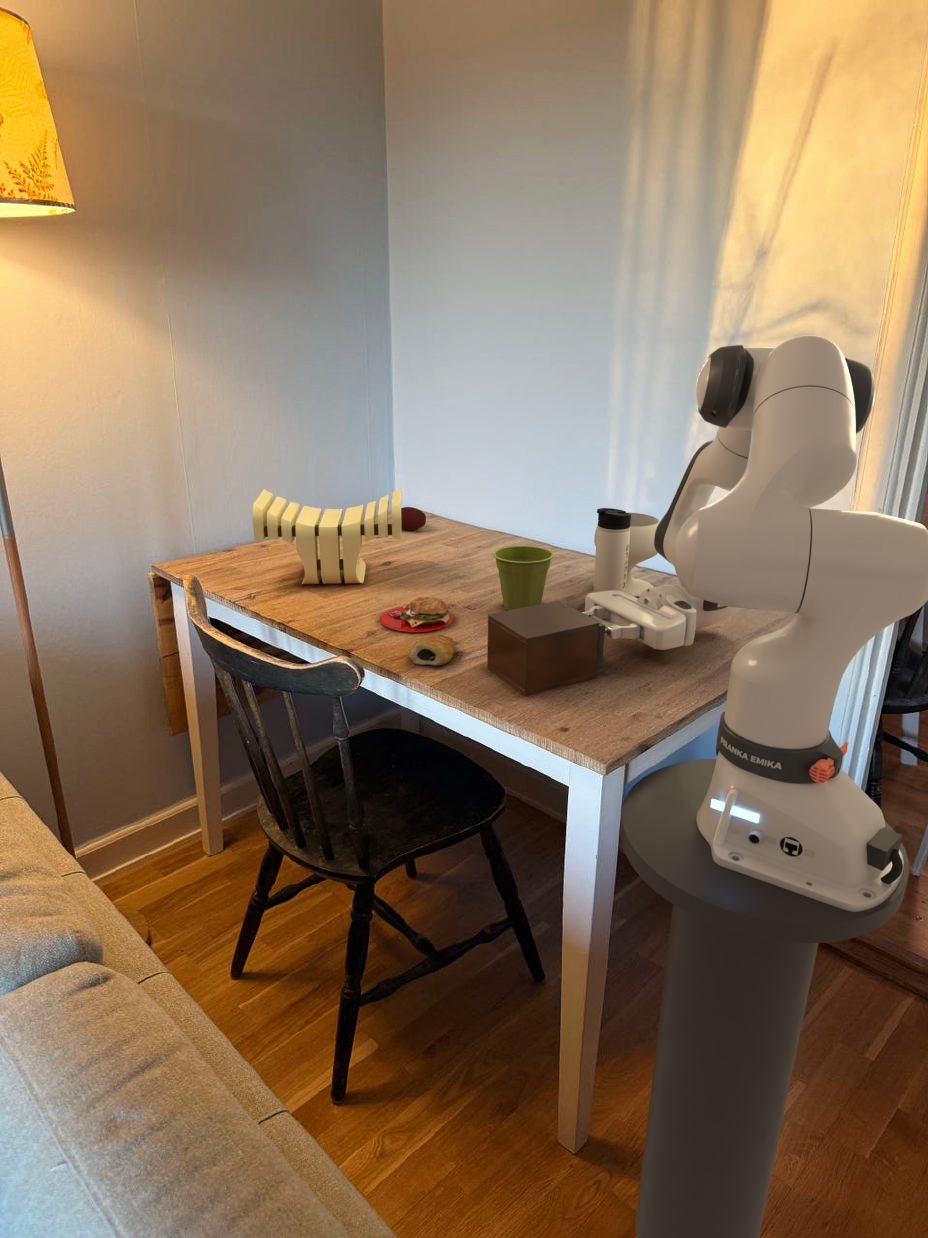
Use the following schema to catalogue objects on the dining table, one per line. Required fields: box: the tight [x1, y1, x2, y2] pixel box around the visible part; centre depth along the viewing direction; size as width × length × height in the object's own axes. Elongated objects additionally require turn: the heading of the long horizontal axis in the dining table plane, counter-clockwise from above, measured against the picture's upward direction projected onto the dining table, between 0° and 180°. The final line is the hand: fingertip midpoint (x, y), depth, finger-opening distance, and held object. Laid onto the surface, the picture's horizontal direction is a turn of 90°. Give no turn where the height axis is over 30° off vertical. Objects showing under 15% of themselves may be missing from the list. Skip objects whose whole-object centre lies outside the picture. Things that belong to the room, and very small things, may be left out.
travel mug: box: [592, 507, 631, 593], centre depth 160 cm, size 6×7×20 cm
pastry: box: [409, 633, 456, 666], centre depth 140 cm, size 9×7×4 cm
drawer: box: [566, 604, 613, 672], centre depth 135 cm, size 17×10×8 cm, turn 119°
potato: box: [401, 506, 427, 531], centre depth 216 cm, size 8×9×6 cm
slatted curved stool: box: [252, 487, 403, 585], centre depth 178 cm, size 30×16×18 cm, turn 94°
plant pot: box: [492, 545, 555, 611], centre depth 161 cm, size 12×12×11 cm
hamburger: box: [379, 596, 455, 633], centre depth 156 cm, size 14×14×6 cm
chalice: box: [593, 512, 660, 597], centre depth 171 cm, size 14×14×15 cm
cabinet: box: [486, 600, 600, 697], centre depth 133 cm, size 14×12×10 cm
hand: (596, 625), depth 137 cm, fingers closed on drawer, 6 cm apart
